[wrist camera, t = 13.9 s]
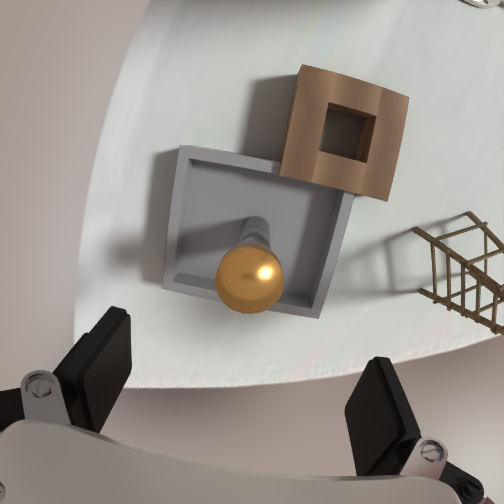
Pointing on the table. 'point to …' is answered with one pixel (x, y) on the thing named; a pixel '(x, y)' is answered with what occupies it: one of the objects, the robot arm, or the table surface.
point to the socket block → (370, 142)
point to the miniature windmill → (481, 277)
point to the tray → (242, 207)
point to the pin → (250, 270)
